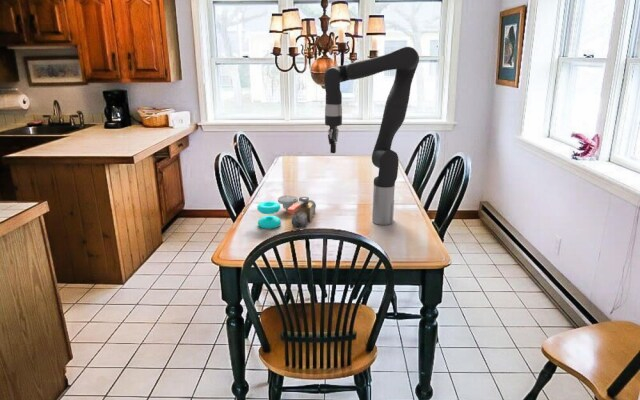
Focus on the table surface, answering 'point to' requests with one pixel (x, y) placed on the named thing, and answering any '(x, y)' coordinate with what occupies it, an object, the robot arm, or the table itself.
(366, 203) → the table surface
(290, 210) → the lever
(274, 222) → the donuts
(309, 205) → the valve body
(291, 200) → the showerhead
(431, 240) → the table surface
